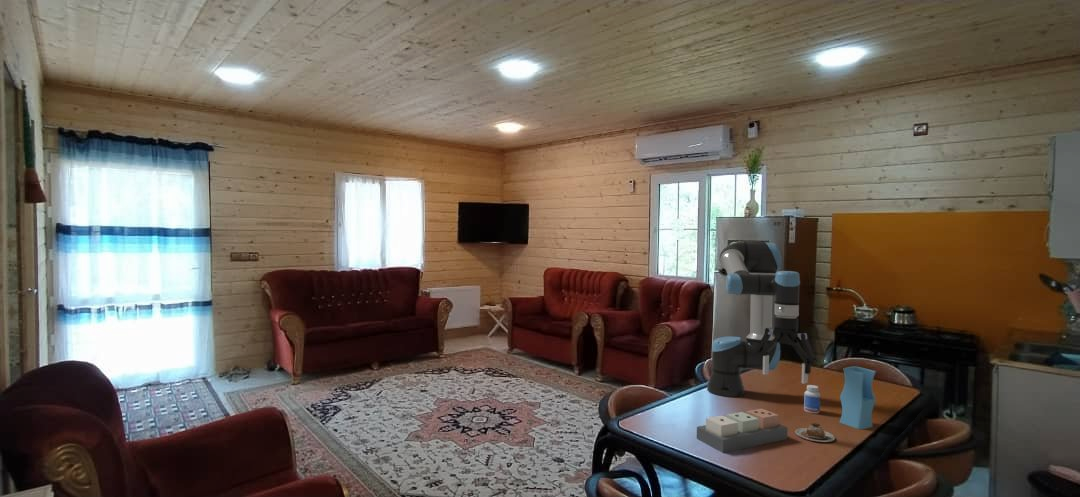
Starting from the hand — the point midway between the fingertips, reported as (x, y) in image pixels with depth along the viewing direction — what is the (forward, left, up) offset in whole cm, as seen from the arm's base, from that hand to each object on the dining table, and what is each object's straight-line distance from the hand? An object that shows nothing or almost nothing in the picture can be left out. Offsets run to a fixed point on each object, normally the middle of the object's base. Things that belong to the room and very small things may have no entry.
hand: (784, 378), depth 180 cm
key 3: (-2, -8, -16) cm, 17 cm away
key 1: (-2, -26, -16) cm, 30 cm away
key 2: (-2, -17, -16) cm, 23 cm away
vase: (+4, +32, -19) cm, 38 cm away
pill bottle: (-12, +29, -19) cm, 37 cm away
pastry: (+6, +8, -20) cm, 22 cm away
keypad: (-2, -17, -19) cm, 25 cm away
